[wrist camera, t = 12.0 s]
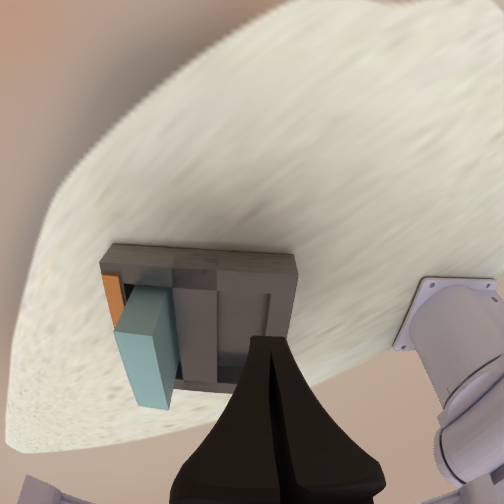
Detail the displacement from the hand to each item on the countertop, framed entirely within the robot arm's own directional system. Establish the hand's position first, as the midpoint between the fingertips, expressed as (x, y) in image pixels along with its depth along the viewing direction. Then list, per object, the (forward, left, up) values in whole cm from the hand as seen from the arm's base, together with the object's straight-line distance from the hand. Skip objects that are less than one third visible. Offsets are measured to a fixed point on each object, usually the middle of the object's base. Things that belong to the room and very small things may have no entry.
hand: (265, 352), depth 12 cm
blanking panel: (+7, +7, -9) cm, 13 cm away
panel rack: (+4, +7, -9) cm, 12 cm away
